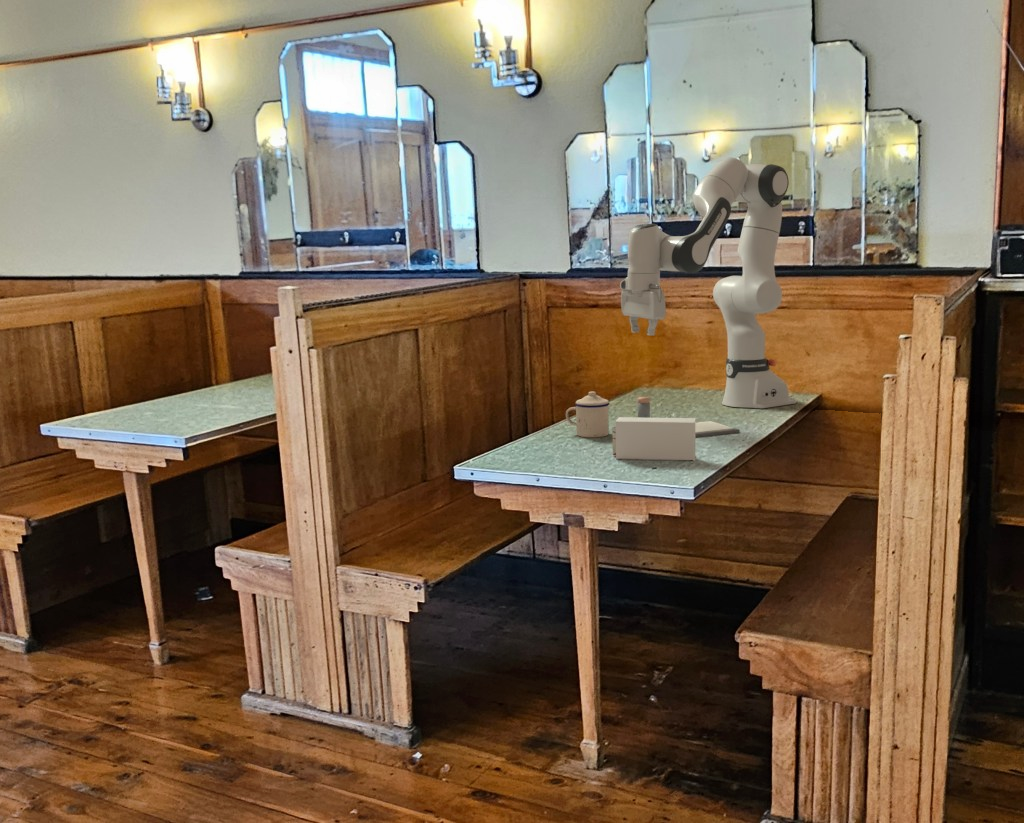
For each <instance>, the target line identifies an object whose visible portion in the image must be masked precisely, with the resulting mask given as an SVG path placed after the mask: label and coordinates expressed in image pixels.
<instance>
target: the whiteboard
mask: <svg viewBox="0 0 1024 823" xmlns="http://www.w3.org/2000/svg"><path fill="white" fill-rule="evenodd" d="M740 432H741V430H740V429H739V428H736V427H732V426H729V425H726V424H723V423H719V422H717V421H713V420H709V421H699V422H697V421H695V438H700V437H701V438H702V437H711V436H719V435H729V434H737V433H740Z"/></svg>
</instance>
